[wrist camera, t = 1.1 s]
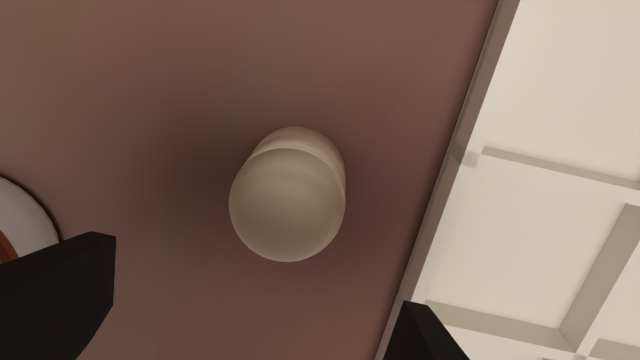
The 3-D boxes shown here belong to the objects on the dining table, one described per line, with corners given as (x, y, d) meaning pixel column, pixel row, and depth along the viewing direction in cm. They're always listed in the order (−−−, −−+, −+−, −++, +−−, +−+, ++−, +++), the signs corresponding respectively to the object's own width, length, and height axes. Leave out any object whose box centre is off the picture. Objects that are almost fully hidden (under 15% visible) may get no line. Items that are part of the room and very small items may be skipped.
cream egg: (333, 225, 20) (328, 297, 15) (242, 205, 20) (206, 270, 15) (355, 138, 18) (359, 185, 13) (258, 116, 18) (223, 153, 13)
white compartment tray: (633, 468, 24) (660, 509, 22) (356, 409, 24) (358, 446, 22) (950, 33, 16) (1043, 34, 14) (524, -73, 15) (551, -87, 13)
